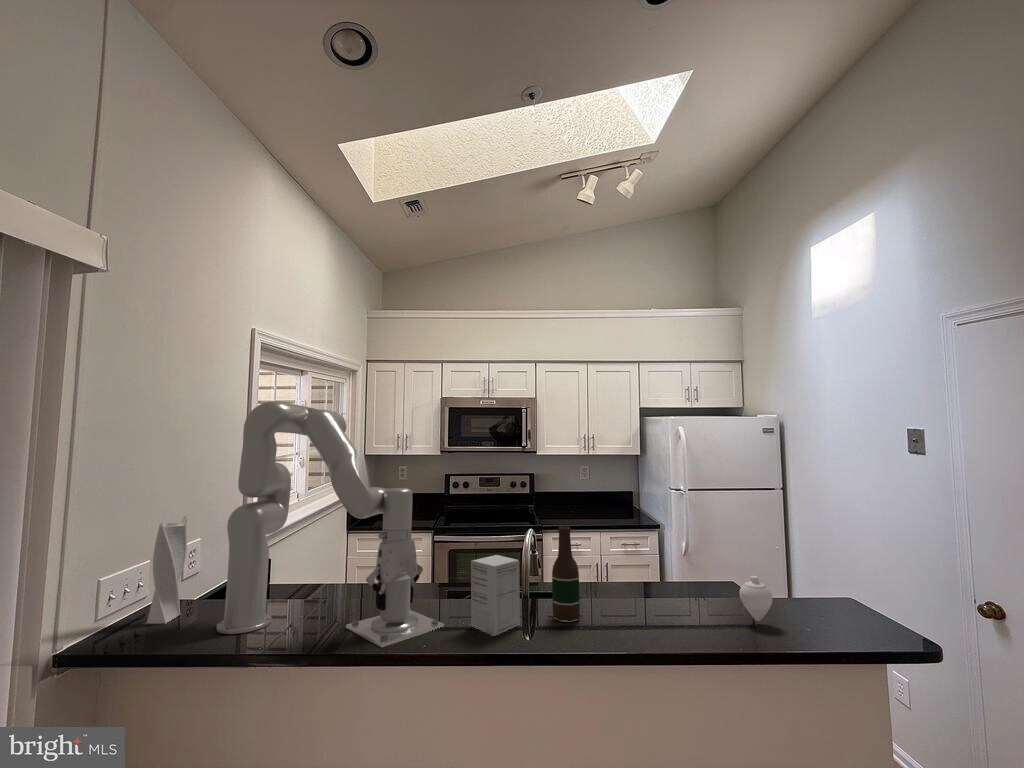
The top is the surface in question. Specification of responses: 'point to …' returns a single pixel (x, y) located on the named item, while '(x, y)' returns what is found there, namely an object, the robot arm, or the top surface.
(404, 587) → the can
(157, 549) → the skyscraper
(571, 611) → the beer bottle
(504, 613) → the supplement box
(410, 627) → the flange
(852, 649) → the top surface
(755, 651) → the top surface
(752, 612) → the spinning top
